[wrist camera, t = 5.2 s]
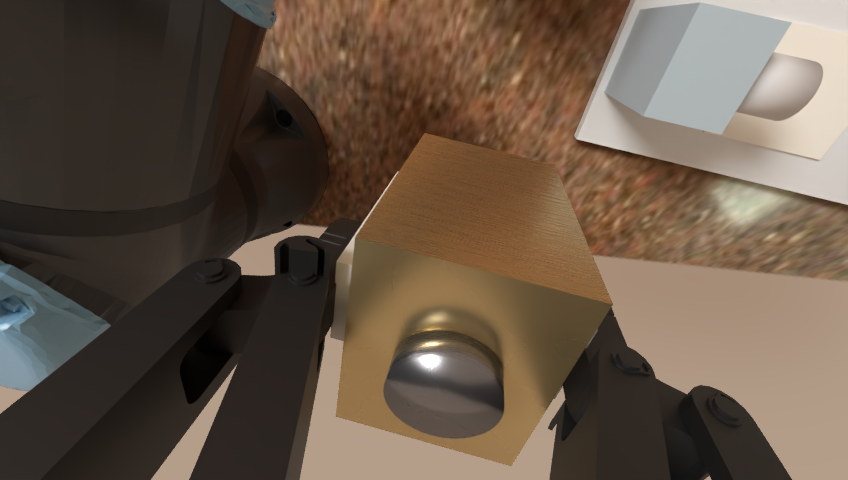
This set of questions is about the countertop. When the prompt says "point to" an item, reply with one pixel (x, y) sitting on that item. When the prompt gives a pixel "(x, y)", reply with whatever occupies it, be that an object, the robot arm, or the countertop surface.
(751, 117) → the shaft rig
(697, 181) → the countertop surface
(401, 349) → the block
